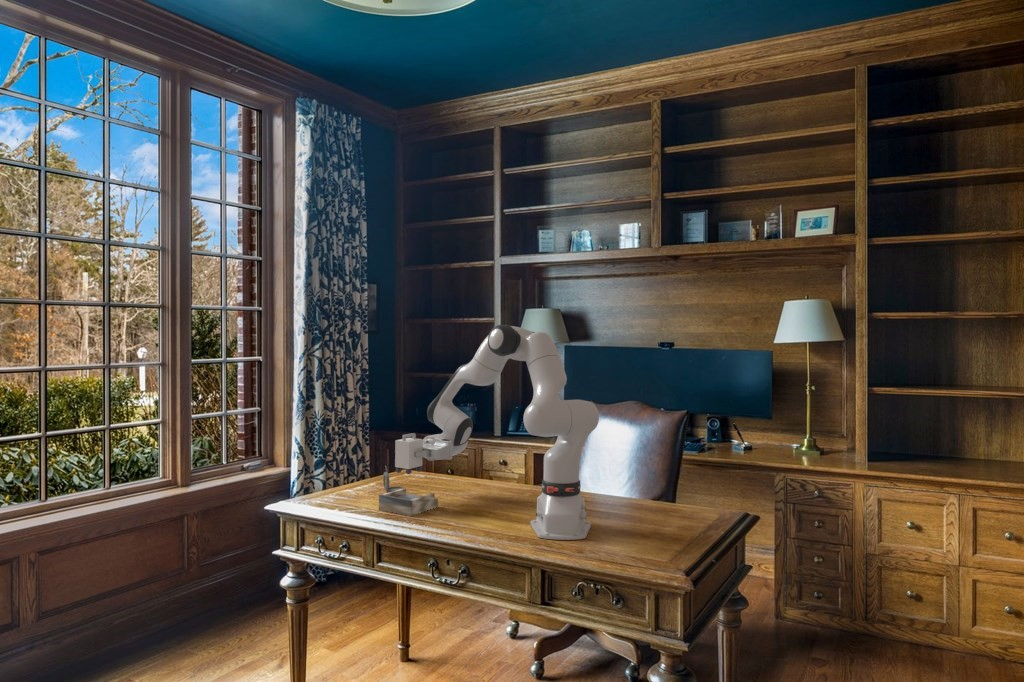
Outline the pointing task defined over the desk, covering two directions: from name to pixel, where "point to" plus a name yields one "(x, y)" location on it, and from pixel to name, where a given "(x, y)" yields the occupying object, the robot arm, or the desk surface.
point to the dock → (406, 502)
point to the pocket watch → (386, 482)
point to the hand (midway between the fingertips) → (407, 453)
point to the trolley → (408, 453)
